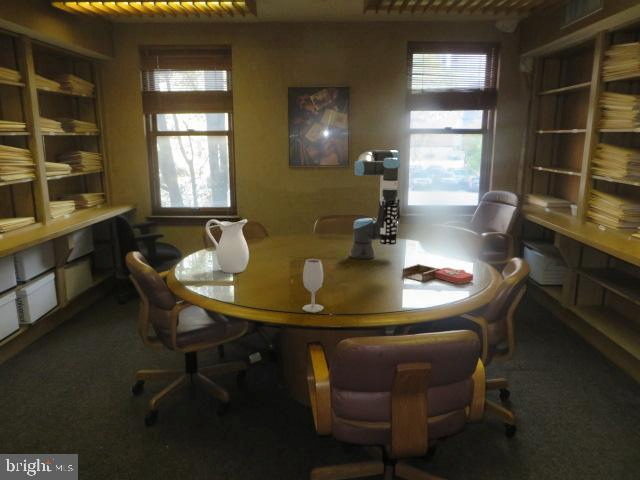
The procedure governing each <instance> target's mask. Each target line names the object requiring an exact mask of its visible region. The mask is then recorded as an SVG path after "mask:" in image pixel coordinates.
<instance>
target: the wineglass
mask: <svg viewBox="0 0 640 480" xmlns="http://www.w3.org/2000/svg"><path fill="white" fill-rule="evenodd" d="M302 281H303V282H302V283H303V286H304V288H306V289H307V291H308V292H310V293H311V297H310V298H311V303H310V304H306V305H304V306H303V307H302V311H304V312H306V313H320V312H322V311H323V309H325V307H324V306H323V305H321V304H318V303H317V304H316V297H315V296H316V295H315V294H316V292H317V291H318V290H319V289H320V288H321V287H322V285H323V282H324V268H323V263H322V260H321V259H317V258H316V259H315V258H309V259H306V260H305V263H304V265H303V271H302Z"/></svg>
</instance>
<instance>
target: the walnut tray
mask: <svg viewBox="0 0 640 480" xmlns="http://www.w3.org/2000/svg"><path fill="white" fill-rule="evenodd" d="M440 269H441V268H438V267H433V266H428V265H425V264H420V263H416V264H413V265H410V266H406V267H403V268H402V276H401V277H402V278H404V279H410V280H413V281H418V282H422V283H426V282H430V281H432V280H435V279H437V278H436V277H435V271H438V270H440Z"/></svg>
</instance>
